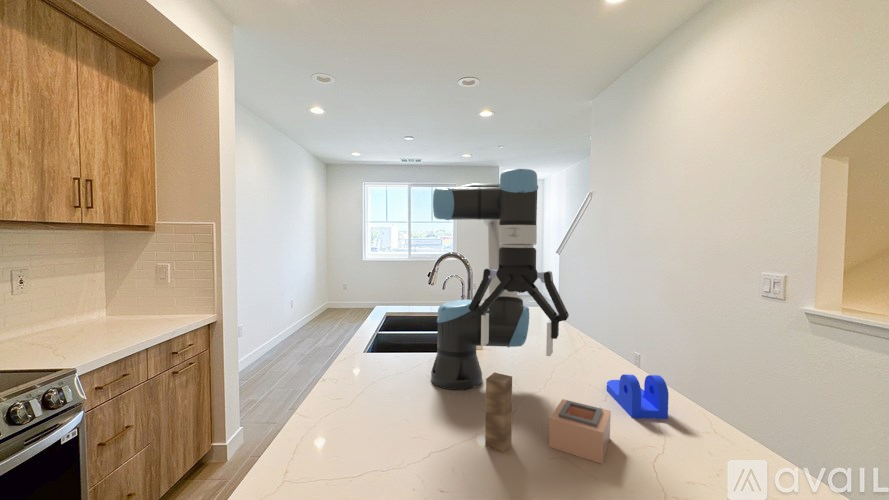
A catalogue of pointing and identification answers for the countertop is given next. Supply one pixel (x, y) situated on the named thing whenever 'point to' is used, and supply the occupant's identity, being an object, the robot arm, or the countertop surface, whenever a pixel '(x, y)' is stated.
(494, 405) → the tall wooden block
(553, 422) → the peach square socket block
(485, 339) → the robot arm
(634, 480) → the countertop surface
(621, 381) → the bracket
